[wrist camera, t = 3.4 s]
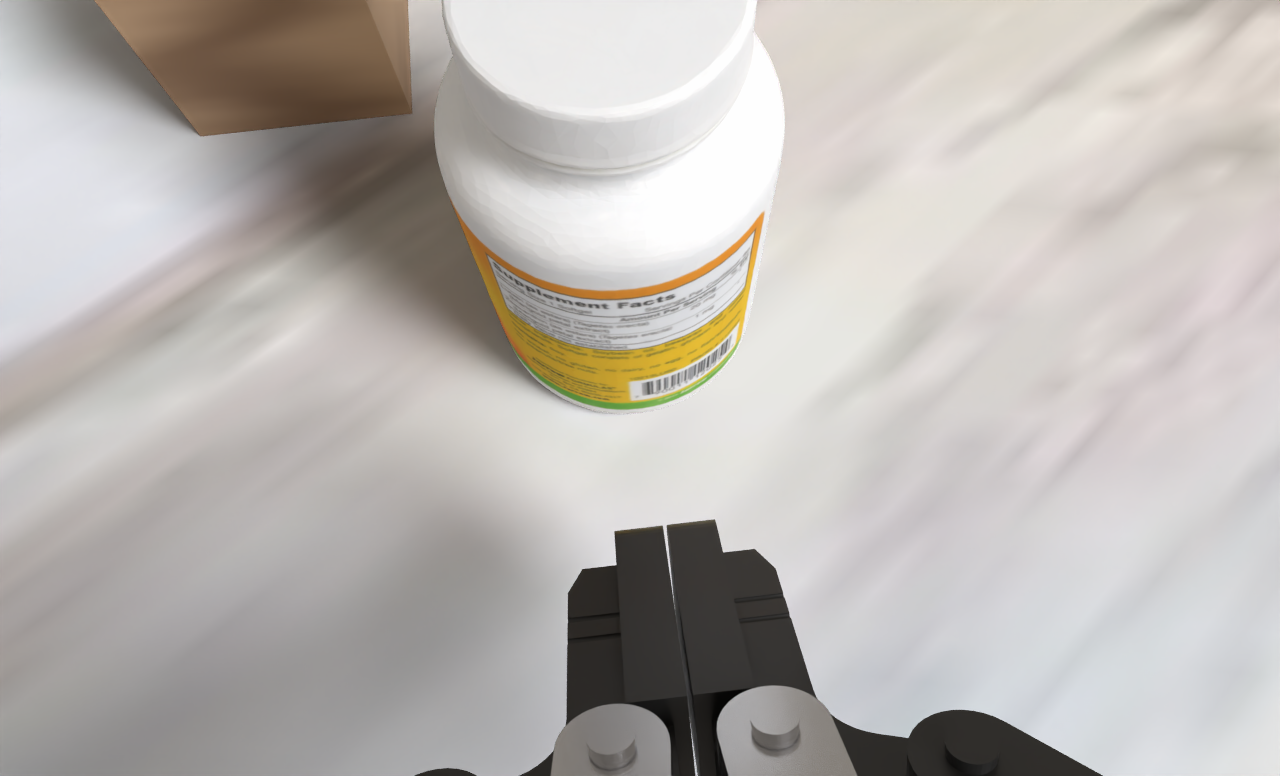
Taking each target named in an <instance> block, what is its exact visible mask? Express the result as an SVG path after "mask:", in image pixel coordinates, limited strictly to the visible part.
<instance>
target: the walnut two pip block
mask: <svg viewBox="0 0 1280 776" xmlns="http://www.w3.org/2000/svg"><path fill="white" fill-rule="evenodd" d="M94 1H95V2H96V3H97V5H98V6H99V7H100V8H101V10H102V11H103V12H104V13H105V15H106V16H107V17H108V19H109V20H110V21H111V22H112V24H113V25H114V26H115V28H116V29H117V30H118V31H119V33H120V34H121V35H122V36H123V38H124V39H125V40H126V42H127V43H128V44H129V45H130V47H131V48H132V49H133V51H134V52H135V53H136V54H137V56H138V57H139V58H140V59H141V61H142V62H143V63H144V65H145V66H146V67H147V68H148V70H149V71H150V72H151V73H152V75H153V76H154V77H155V79H156V80H157V81H158V82H159V84H160V85H161V86H162V88H163V89H164V90H165V91H166V93H167V94H168V95H169V96H170V98H171V99H172V100H173V102H174V103H175V104H176V105H177V107H178V108H179V109H180V111H181V112H182V113H183V114H184V116H185V117H186V118H187V119H188V121H189V122H190V123H191V125H192V126H193V127H194V128H195V130H196V131H197V132H198V133H199V135H200V136H208V135H217V134H227V133H236V132H245V131H255V130H264V129H273V128H282V127H292V126H301V125H310V124H319V123H329V122H338V121H347V120H356V119H366V118H375V117H384V116H393V115H403V114H412V97H411V71H410V46H409V21H408V0H94Z"/></svg>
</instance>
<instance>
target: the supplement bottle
mask: <svg viewBox="0 0 1280 776" xmlns="http://www.w3.org/2000/svg"><path fill="white" fill-rule="evenodd" d="M756 5H757V0H442V13H443V20H444V25H445V29H446V32H447V36H448V39H449V43H450V47H451V50H452V54H453V57H452V58H451V60H450V62H449V65H448V67H447V69H446V72H445V74H444V76H443V79H442V82H441V86H440V90H439V93H438V97H437V101H436V108H435V115H434V138H435V148H436V154H437V160H438V163H439V167H440V170H441V174H442V177H443V180H444V183H445V186H446V189H447V192H448V195H449V198H450V200H451V203H452V206H453V208H454V210H455V212H456V215H457V217H458V219H459V222H460V224H461V227H462V229H463V232H464V234H465V237H466V239H467V241H468V244H469V246H470V249H471V251H472V254H473V256H474V259H475V261H476V264H477V266H478V268H479V271H480V273H481V275H482V278H483V280H484V282H485V285H486V288H487V290H488V293H489V296H490V298H491V300H492V303H493V305H494V308H495V310H496V313H497V315H498V317H499V320H500V322H501V325H502V327H503V329H504V331H505V334H506V336H507V338H508V340H509V342H510V344H511V346H512V348H513V350H514V352H515V353H516V355H517V357H518V358H519V360H520V361H521V363H522V364H523V365H524V367H525V368H526V369H527V370H528V372H529V373H530V374H531V375H532V376H533V377H534V378H535V379H536V380H537V381H538V382H540V383H541V384H542V385H543V386H544V387H546V388H547V389H549V390H550V391H551V392H553V393H555V394H556V395H558V396H559V397H561V398H563V399H565V400H567V401H569V402H571V403H573V404H576V405H578V406H581V407H584V408H587V409H590V410H593V411H598V412H604V413H611V414H635V413H643V412H650V411H654V410H658V409H662V408H665V407H669V406H671V405H674V404H677V403H679V402H681V401H683V400H685V399H687V398H689V397H691V396H692V395H694V394H696V393H697V392H699V391H700V390H702V389H703V388H704V387H706V386H707V385H708V384H709V383H711V382H712V381H713V380H714V379H715V378H716V377H717V376H718V375H719V374H720V373H721V371H722V370H723V369H724V368H725V367H726V366H727V364H728V363H729V362H730V360H731V359H732V357H733V356H734V354H735V353H736V351H737V349H738V347H739V345H740V343H741V341H742V339H743V336H744V334H745V331H746V328H747V324H748V320H749V316H750V313H751V308H752V303H753V298H754V293H755V288H756V283H757V278H758V273H759V267H760V262H761V257H762V252H763V247H764V242H765V237H766V232H767V227H768V222H769V217H770V212H771V207H772V203H773V198H774V193H775V188H776V184H777V179H778V174H779V170H780V165H781V158H782V151H783V142H784V132H785V114H784V104H783V96H782V92H781V87H780V83H779V80H778V77H777V74H776V71H775V68H774V66H773V63H772V61H771V59H770V57H769V55H768V53H767V51H766V49H765V47H764V46H763V44H762V43H761V41H760V39H759V38H758V36H757V35H756V33H755V32H754V25H755V15H756Z"/></svg>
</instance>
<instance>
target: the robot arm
mask: <svg viewBox="0 0 1280 776" xmlns="http://www.w3.org/2000/svg"><path fill="white" fill-rule="evenodd" d="M667 536H668V546H669V556H670V565H671V575H672V585H673V594H672V587H671V580H670V573H669V566H668V559H667V553H666V546H665V539H664V532H663V526H656V527H647V528H638V529H630V530H621V531H615V547H616V563H617V565H615V566H606V567H598V568H589V569H582V571H581V573H580V574H579V576H578V578H577V579H576V581H575V583H574V584H573V586H572V587H571V589H570V591H569V592H568V647H567V720H566V726H565V727H564V729H563V730H562V731H561V733H560V734H559V736H558V738H557V741H556V743H555V747H554V751H553V752H552V753H551V754H550V755H549V756H548V757H547V758H546V759H545V760H544V761H543V762H542V763H540V764H539V765H538V766H536V767H535V768H533V769H532V770H530V771H528V772H526V773H524V774H522V775H520V776H695V768H694V758H693V748H692V738H693V745H694V752H695V759H696V766H697V773H698V776H1102V775H1101V774H1099V773H1097V772H1095V771H1093V770H1092V769H1090V768H1088V767H1086V766H1084V765H1082V764H1081V763H1079V762H1077V761H1075V760H1073V759H1072V758H1070V757H1068V756H1066V755H1064V754H1062V753H1061V752H1059V751H1057V750H1055V749H1053V748H1052V747H1050V746H1048V745H1046V744H1044V743H1042V742H1041V741H1039V740H1037V739H1035V738H1033V737H1032V736H1030V735H1028V734H1026V733H1024V732H1023V731H1021V730H1019V729H1017V728H1015V727H1013V726H1012V725H1010V724H1008V723H1006V722H1004V721H1002V720H1000V719H998V718H996V717H994V716H991V715H988V714H985V713H980V712H976V711H969V710H950V711H944V712H940V713H936V714H933V715H931V716H929V717H927V718H925V719H924V720H922V721H921V722H920V723H918V724H917V726H916V727H915V728H914V729H913V730H912V732H911V734H910V736H909V738H903V737H896V736H889V735H882V734H876V733H871V732H866V731H862V730H859V729H856V728H854V727H851V726H849V725H847V724H845V723H843V722H841V721H840V720H838V719H836V718H835V717H834V716H832V715H831V714H830V713H829V711H828V709H827V708H826V707H825V706H824V705H823V704H822V703H821V702H820V701H819V700H818V699H817V698H816V695H815V693H814V691H813V688H812V684H811V681H810V678H809V675H808V672H807V668H806V665H805V662H804V659H803V656H802V652H801V649H800V646H799V643H798V639H797V636H796V633H795V630H794V627H793V623H792V620H791V618H790V616H789V611H788V607H787V604H786V601H785V598H784V597H783V591H782V588H781V585H780V582H779V578H778V575H777V572H776V569H775V568H774V567H773V566H772V565H771V564H770V563H769V562H768V561H767V560H766V559H765V558H764V557H763V556H761V555H760V554H759V553H758V552H757V551H756V550H755V549H751V550H742V551H734V552H725V553H723V551H722V547H721V542H720V538H719V534H718V530H717V525H716V522H715V520H706V521H697V522H689V523H680V524H671V525H667ZM673 595H674V601H673ZM674 605H675V608H674ZM675 614H676V615H675ZM689 717H690V718H689ZM690 724H691V728H690ZM691 731H692V738H691ZM415 776H476V775H475V774H472V773H470V772H468V771H464V770H460V769H451V768H444V769H435V770H430V771H426V772H423V773H420V774H417V775H415Z"/></svg>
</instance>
